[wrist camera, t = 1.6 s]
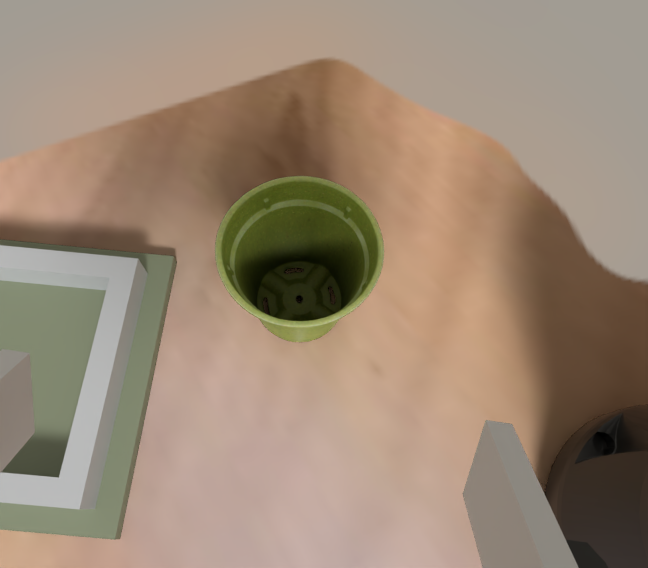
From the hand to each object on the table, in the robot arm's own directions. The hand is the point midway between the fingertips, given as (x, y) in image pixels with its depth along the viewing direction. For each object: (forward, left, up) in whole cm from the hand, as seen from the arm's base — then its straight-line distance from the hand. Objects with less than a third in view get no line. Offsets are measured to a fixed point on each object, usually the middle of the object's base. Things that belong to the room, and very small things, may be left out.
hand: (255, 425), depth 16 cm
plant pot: (0, -11, -20) cm, 23 cm away
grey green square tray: (+18, -4, -20) cm, 27 cm away
